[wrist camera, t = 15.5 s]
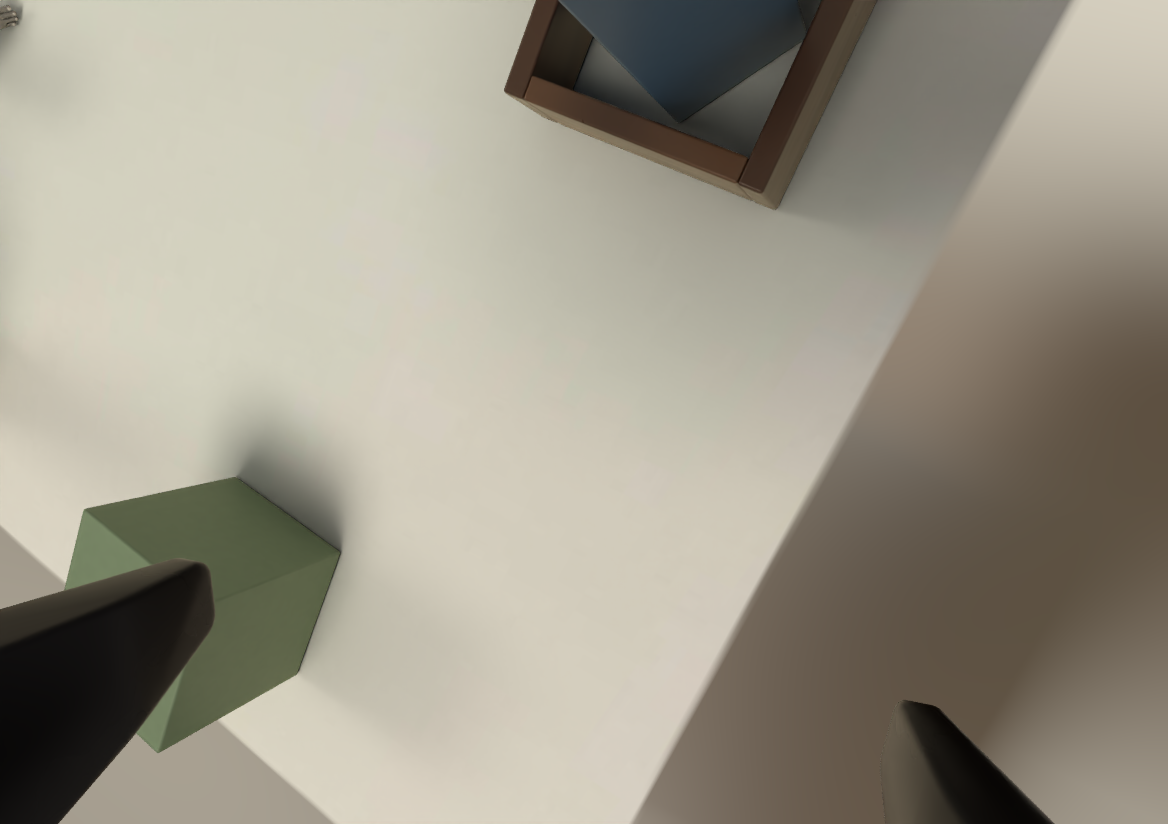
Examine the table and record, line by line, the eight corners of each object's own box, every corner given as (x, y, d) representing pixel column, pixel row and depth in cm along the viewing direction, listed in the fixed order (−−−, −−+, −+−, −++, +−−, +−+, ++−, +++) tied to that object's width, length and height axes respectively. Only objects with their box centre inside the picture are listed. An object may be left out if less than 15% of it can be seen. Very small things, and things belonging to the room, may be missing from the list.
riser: (341, 552, 27) (202, 606, 22) (297, 675, 29) (157, 755, 23) (235, 476, 29) (82, 508, 23) (199, 595, 30) (48, 651, 25)
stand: (924, -98, 17) (930, -164, 15) (776, 211, 20) (761, 194, 17) (647, -164, 20) (616, -228, 18) (542, 116, 22) (502, 91, 20)
